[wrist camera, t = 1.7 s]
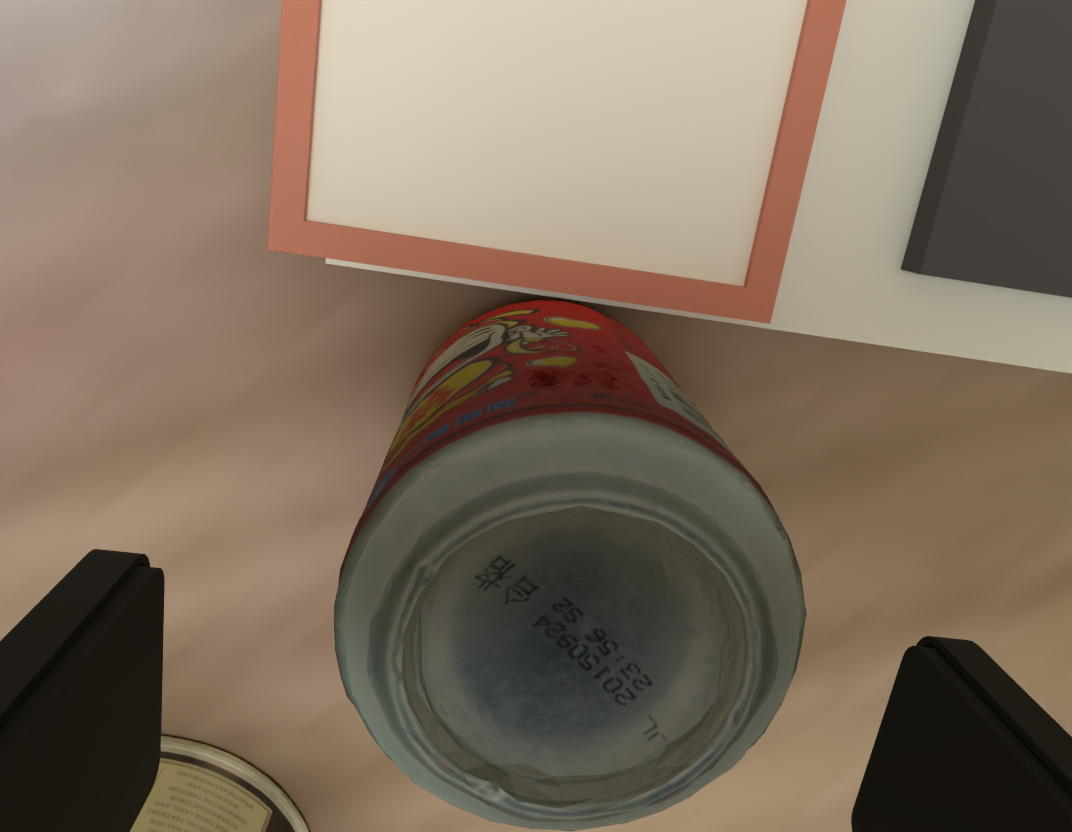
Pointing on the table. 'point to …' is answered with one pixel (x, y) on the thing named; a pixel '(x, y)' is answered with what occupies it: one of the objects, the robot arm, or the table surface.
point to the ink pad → (1003, 156)
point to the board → (882, 208)
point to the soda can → (563, 581)
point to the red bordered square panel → (554, 141)
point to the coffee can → (213, 794)
